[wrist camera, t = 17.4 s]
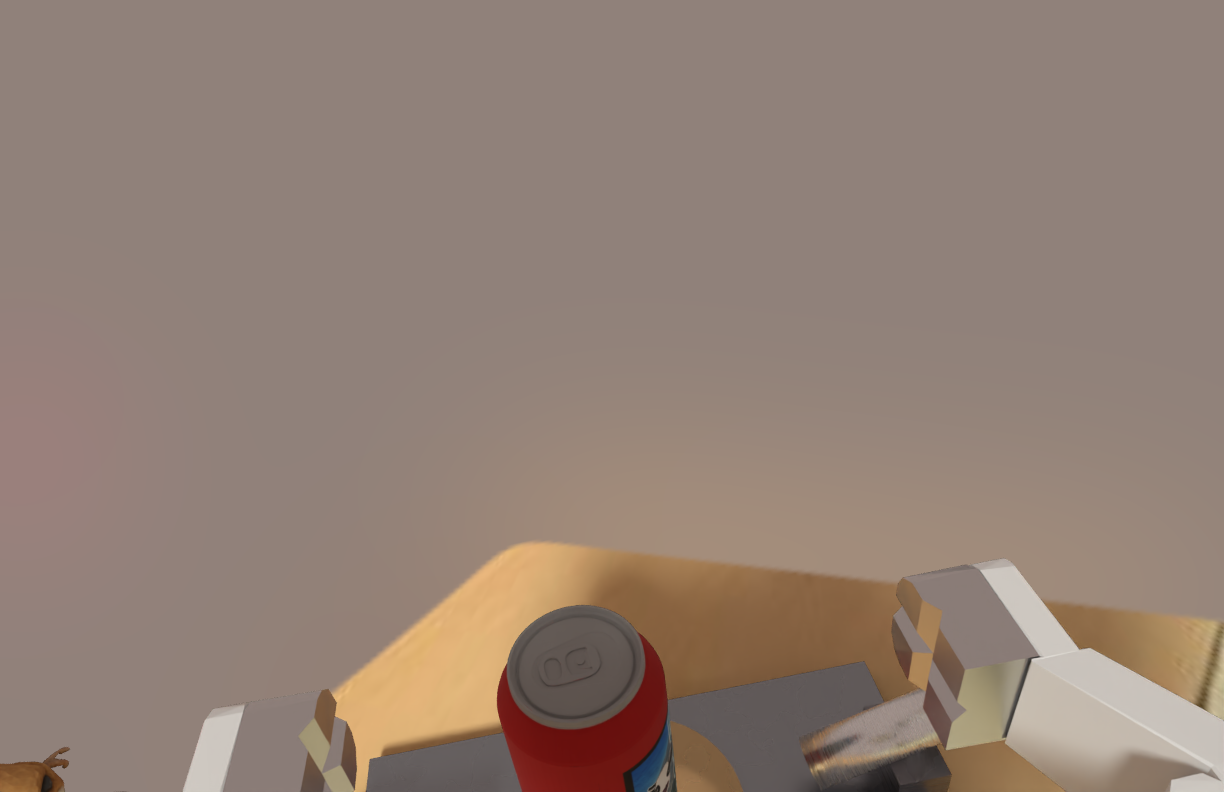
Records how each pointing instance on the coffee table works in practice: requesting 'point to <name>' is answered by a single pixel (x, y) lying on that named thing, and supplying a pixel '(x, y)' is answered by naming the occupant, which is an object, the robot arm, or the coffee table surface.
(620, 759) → the beverage can
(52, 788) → the squirrel figurine
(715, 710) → the shaft bed
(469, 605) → the coffee table surface
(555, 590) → the coffee table surface
